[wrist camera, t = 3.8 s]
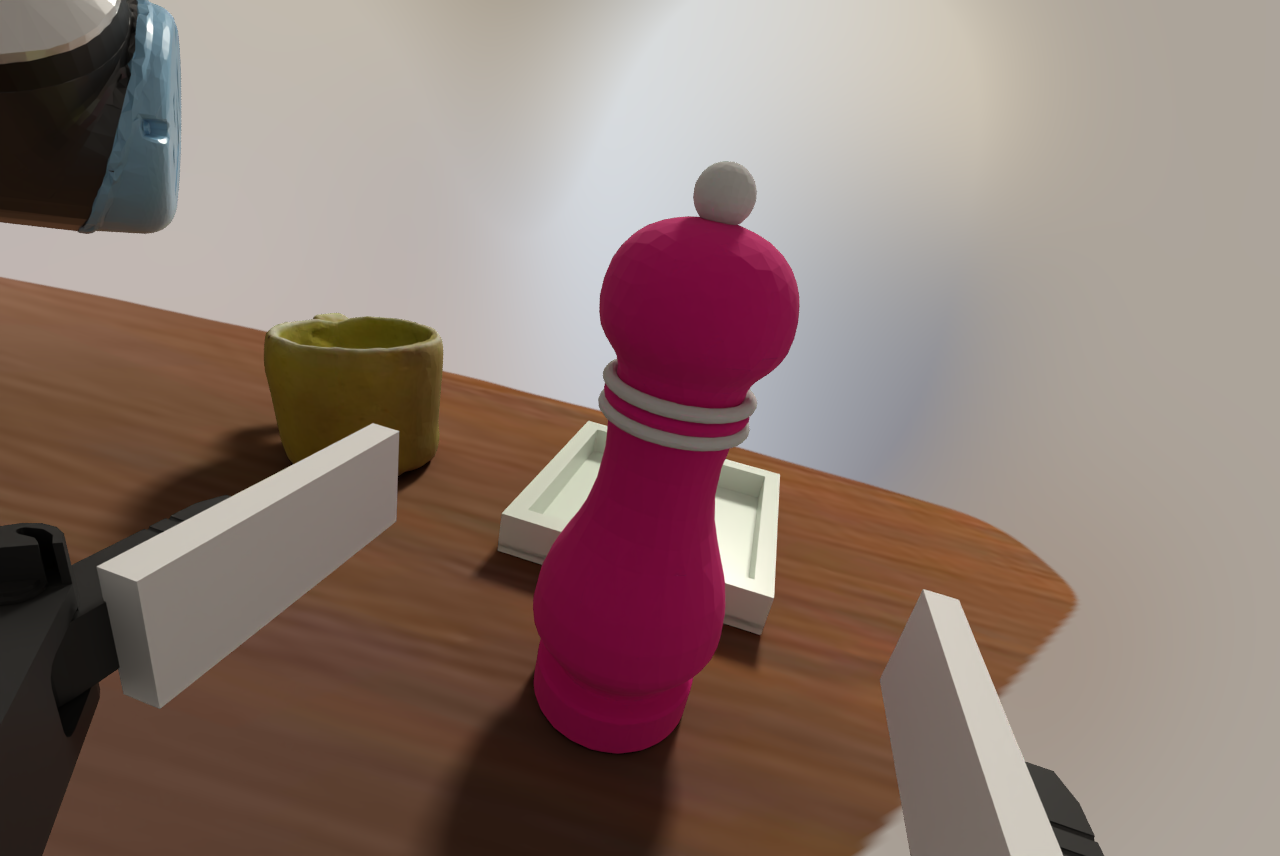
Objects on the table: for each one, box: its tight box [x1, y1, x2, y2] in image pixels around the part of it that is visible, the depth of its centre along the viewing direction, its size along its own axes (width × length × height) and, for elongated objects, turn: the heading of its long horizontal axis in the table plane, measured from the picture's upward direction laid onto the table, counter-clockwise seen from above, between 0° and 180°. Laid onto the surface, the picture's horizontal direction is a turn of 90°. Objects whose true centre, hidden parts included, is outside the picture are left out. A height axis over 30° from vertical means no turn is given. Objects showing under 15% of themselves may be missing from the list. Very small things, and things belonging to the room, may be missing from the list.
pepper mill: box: [533, 161, 799, 754], centre depth 20 cm, size 7×7×20 cm
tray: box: [498, 421, 780, 635], centre depth 36 cm, size 14×14×2 cm
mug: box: [264, 313, 443, 476], centre depth 37 cm, size 12×10×10 cm
